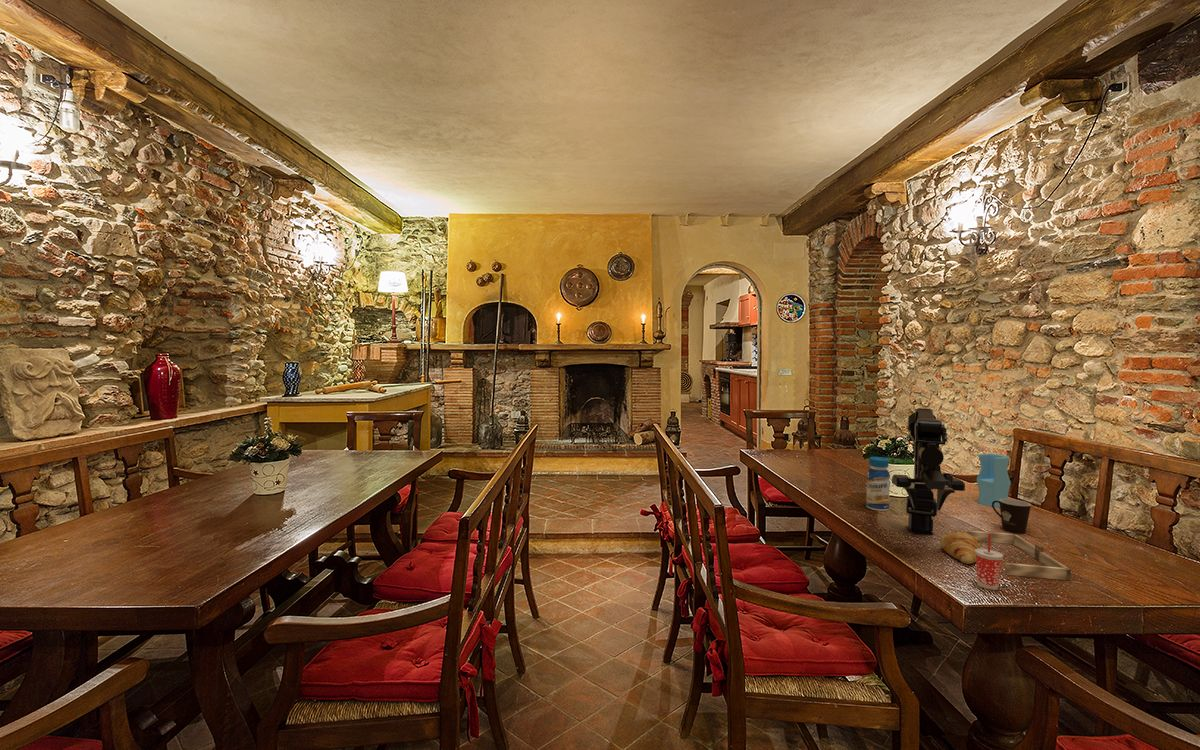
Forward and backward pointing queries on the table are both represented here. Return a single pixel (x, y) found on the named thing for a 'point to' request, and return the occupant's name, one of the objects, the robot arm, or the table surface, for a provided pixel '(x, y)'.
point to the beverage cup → (988, 567)
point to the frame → (1051, 567)
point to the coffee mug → (1013, 515)
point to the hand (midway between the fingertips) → (926, 509)
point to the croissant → (960, 546)
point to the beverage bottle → (878, 484)
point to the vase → (993, 479)
